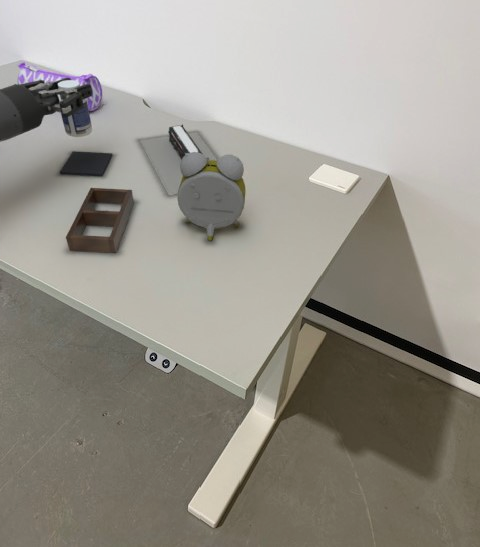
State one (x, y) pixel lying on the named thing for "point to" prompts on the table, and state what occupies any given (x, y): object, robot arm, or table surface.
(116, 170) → the table surface
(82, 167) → the rubber pad
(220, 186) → the alarm clock
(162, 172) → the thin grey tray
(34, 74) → the pencil case
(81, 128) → the pill bottle
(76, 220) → the bottle holder
